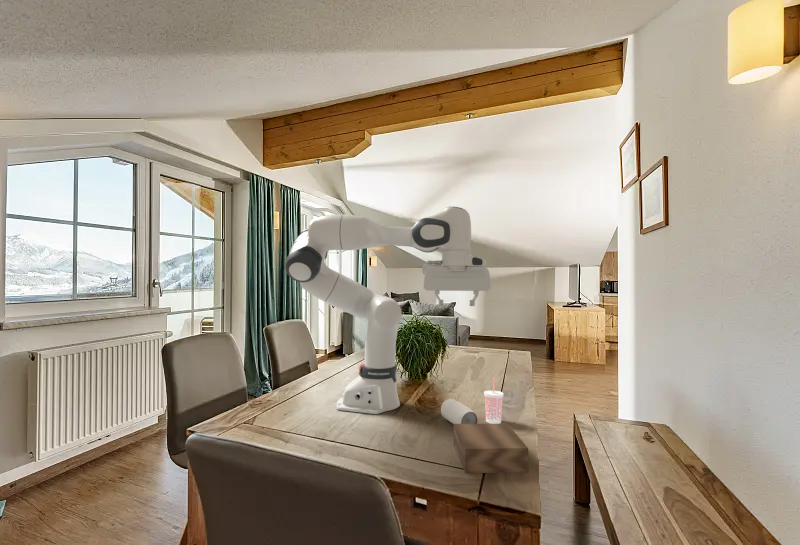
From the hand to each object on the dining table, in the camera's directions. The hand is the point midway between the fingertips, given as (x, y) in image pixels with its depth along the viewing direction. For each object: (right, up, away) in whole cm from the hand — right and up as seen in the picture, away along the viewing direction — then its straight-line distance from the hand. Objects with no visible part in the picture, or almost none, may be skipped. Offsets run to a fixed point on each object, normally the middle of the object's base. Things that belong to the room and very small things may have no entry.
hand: (456, 305), depth 116 cm
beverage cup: (+12, -37, +5) cm, 40 cm away
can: (-1, -34, +8) cm, 35 cm away
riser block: (+5, -37, -19) cm, 42 cm away
